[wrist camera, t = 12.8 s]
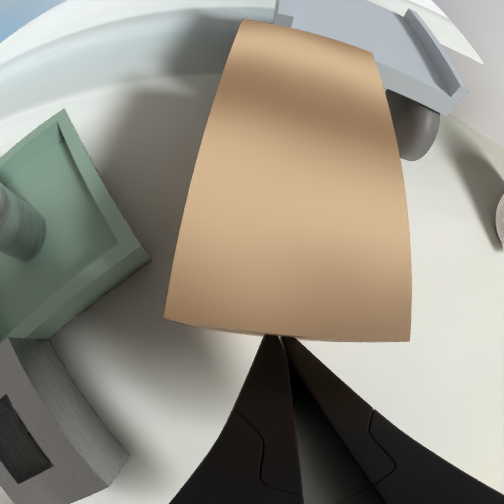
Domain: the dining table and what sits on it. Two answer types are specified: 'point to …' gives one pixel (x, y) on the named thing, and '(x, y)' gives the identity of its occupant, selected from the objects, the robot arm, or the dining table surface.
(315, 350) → the dining table surface
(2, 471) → the holder
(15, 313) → the tray
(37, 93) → the dining table surface
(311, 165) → the block
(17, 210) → the pin
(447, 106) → the trolley
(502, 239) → the spread jar
